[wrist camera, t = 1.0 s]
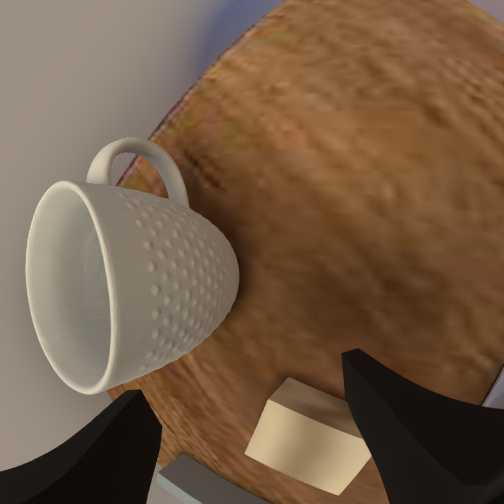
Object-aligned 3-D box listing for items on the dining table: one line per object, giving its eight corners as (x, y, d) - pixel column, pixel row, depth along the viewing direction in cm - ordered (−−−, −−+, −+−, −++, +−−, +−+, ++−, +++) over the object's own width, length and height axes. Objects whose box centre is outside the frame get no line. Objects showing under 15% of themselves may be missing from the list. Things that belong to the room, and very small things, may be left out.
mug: (152, 176, 26) (28, 150, 15) (255, 145, 21) (119, 68, 10) (163, 332, 26) (39, 369, 14) (271, 343, 21) (138, 427, 9)
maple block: (384, 413, 17) (379, 444, 14) (349, 464, 18) (338, 495, 15) (289, 375, 21) (268, 398, 17) (266, 428, 22) (244, 453, 18)
